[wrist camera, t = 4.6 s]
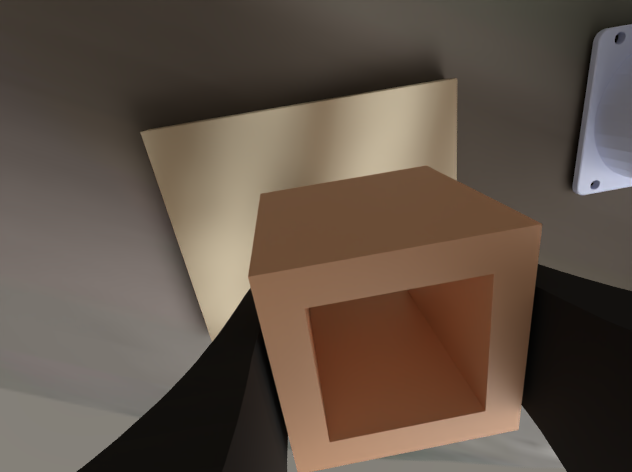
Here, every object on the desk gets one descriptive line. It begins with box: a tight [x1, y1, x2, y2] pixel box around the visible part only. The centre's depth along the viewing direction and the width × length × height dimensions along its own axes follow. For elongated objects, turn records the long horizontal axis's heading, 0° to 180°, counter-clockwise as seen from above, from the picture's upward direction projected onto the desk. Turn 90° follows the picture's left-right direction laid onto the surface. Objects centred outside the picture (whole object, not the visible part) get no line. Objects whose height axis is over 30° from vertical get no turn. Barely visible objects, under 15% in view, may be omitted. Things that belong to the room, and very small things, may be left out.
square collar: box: [248, 165, 542, 472], centre depth 9 cm, size 5×5×5 cm
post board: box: [140, 78, 457, 342], centre depth 16 cm, size 14×12×6 cm
